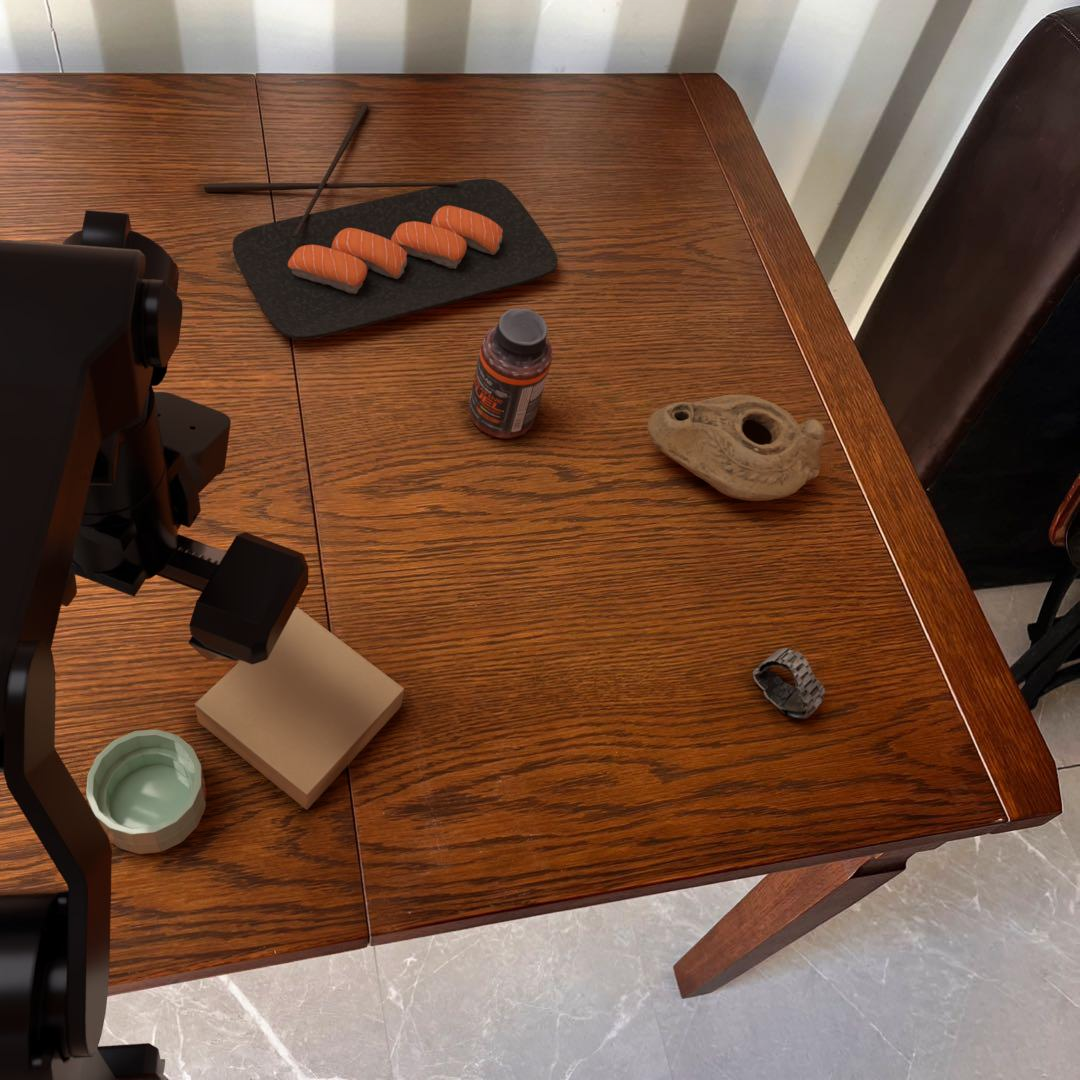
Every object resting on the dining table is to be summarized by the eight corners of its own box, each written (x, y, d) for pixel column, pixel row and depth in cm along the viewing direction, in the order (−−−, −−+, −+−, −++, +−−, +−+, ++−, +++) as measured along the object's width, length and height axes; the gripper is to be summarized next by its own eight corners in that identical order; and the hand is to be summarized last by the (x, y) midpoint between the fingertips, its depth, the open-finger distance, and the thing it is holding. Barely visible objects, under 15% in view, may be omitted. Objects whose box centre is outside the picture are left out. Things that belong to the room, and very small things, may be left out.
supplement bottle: (453, 412, 95) (469, 320, 85) (498, 378, 98) (518, 286, 88) (504, 453, 93) (526, 364, 84) (548, 417, 96) (574, 328, 87)
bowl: (151, 877, 69) (142, 856, 66) (74, 812, 71) (62, 787, 67) (228, 797, 73) (224, 773, 69) (154, 736, 74) (146, 709, 71)
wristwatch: (761, 712, 85) (813, 722, 81) (743, 655, 84) (796, 662, 80) (783, 692, 87) (836, 701, 83) (767, 636, 86) (820, 642, 82)
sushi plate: (282, 360, 94) (282, 329, 91) (164, 143, 106) (160, 109, 103) (566, 283, 106) (574, 253, 103) (430, 95, 118) (433, 64, 115)
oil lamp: (632, 415, 98) (656, 355, 91) (788, 424, 101) (821, 366, 94) (648, 516, 92) (675, 459, 86) (813, 522, 95) (851, 467, 88)
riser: (306, 810, 73) (306, 795, 71) (197, 722, 75) (194, 703, 73) (401, 706, 79) (404, 688, 76) (297, 626, 81) (297, 606, 78)
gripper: (354, 414, 55) (345, 574, 68) (17, 290, 56) (70, 472, 69) (256, 585, 49) (266, 727, 62) (-124, 443, 50) (-36, 613, 62)
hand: (142, 626), depth 64 cm, fingers open, 9 cm apart
